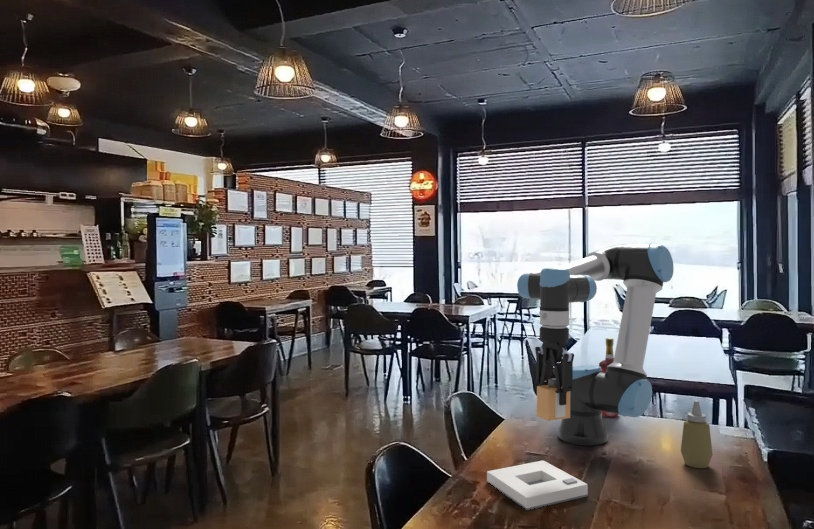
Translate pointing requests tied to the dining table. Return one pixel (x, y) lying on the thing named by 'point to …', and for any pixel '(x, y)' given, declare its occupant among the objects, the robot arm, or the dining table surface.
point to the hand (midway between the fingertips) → (553, 413)
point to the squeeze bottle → (696, 439)
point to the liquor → (604, 364)
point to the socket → (537, 484)
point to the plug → (550, 401)
